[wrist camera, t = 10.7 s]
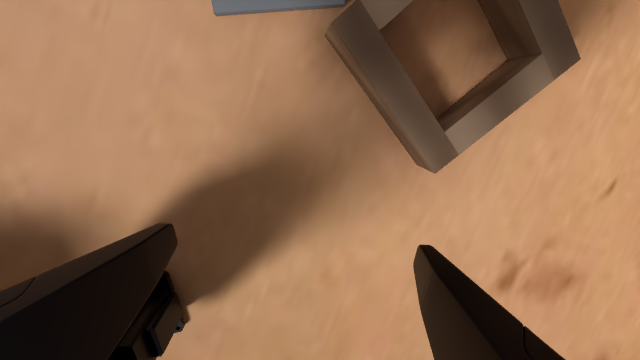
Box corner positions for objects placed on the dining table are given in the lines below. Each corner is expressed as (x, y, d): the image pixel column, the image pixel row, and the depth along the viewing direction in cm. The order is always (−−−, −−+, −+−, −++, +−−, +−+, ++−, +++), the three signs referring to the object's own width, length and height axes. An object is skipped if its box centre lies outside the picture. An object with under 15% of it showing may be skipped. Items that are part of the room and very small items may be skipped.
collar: (416, 164, 23) (435, 173, 20) (324, 35, 19) (330, 23, 16) (542, 64, 21) (580, 58, 19) (469, -95, 18) (504, -134, 15)
